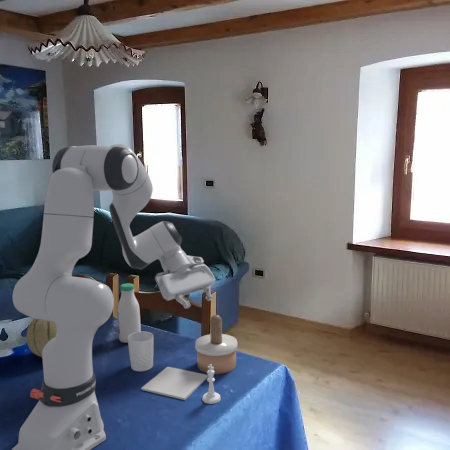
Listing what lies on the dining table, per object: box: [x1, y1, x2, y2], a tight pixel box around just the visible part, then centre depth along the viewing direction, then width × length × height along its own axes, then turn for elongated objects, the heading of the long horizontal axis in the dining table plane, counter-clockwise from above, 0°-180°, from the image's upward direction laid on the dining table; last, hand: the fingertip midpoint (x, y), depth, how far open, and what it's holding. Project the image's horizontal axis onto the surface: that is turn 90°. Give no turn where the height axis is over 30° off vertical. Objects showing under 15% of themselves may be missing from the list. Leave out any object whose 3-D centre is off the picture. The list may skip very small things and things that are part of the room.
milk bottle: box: [117, 282, 142, 344], centre depth 169 cm, size 8×8×20 cm
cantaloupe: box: [26, 318, 57, 358], centre depth 158 cm, size 15×15×15 cm
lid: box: [194, 314, 238, 356], centre depth 148 cm, size 13×13×10 cm
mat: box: [141, 366, 209, 401], centre depth 139 cm, size 14×14×1 cm
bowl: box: [196, 349, 237, 375], centre depth 150 cm, size 12×12×6 cm
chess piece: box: [201, 364, 221, 405], centre depth 130 cm, size 5×5×10 cm
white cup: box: [127, 330, 155, 372], centre depth 149 cm, size 8×8×10 cm
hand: (199, 303), depth 152 cm, fingers open, 8 cm apart
